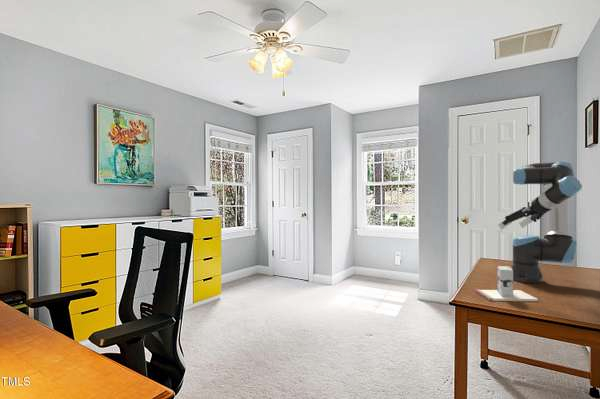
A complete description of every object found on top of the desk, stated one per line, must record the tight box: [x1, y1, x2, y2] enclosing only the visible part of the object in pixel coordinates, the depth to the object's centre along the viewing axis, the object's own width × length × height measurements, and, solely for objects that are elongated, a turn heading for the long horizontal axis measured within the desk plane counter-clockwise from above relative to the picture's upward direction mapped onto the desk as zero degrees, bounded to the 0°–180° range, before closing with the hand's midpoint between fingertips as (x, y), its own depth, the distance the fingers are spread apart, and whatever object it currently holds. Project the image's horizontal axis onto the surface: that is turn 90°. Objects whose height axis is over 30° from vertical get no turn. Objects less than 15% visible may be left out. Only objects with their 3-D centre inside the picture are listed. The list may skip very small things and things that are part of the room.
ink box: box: [496, 265, 514, 297], centre depth 152 cm, size 8×5×12 cm, turn 159°
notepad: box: [475, 289, 539, 302], centre depth 152 cm, size 20×13×1 cm, turn 86°
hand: (510, 226), depth 169 cm, fingers open, 13 cm apart
